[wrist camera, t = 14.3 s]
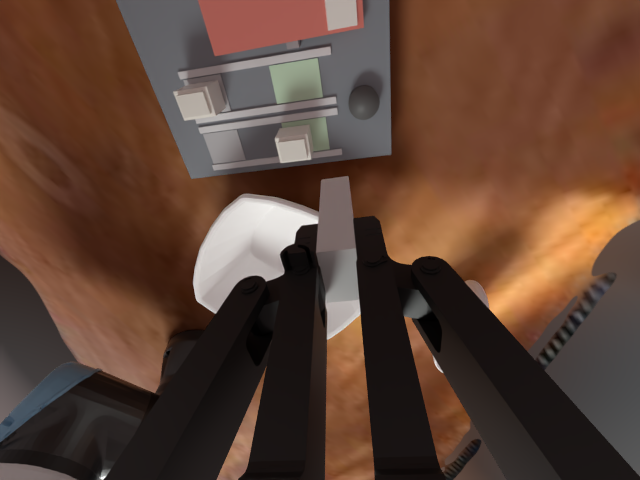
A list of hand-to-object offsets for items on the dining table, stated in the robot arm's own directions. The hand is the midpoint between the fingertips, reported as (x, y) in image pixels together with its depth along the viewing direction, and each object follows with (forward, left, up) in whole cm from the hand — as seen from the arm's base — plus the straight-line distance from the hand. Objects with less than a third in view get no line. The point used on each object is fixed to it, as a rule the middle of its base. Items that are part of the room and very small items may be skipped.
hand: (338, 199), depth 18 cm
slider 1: (-12, +4, -16) cm, 20 cm away
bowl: (-8, -16, -19) cm, 26 cm away
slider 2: (-4, -1, -15) cm, 16 cm away
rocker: (-3, +9, -14) cm, 16 cm away
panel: (-6, +4, -19) cm, 20 cm away
